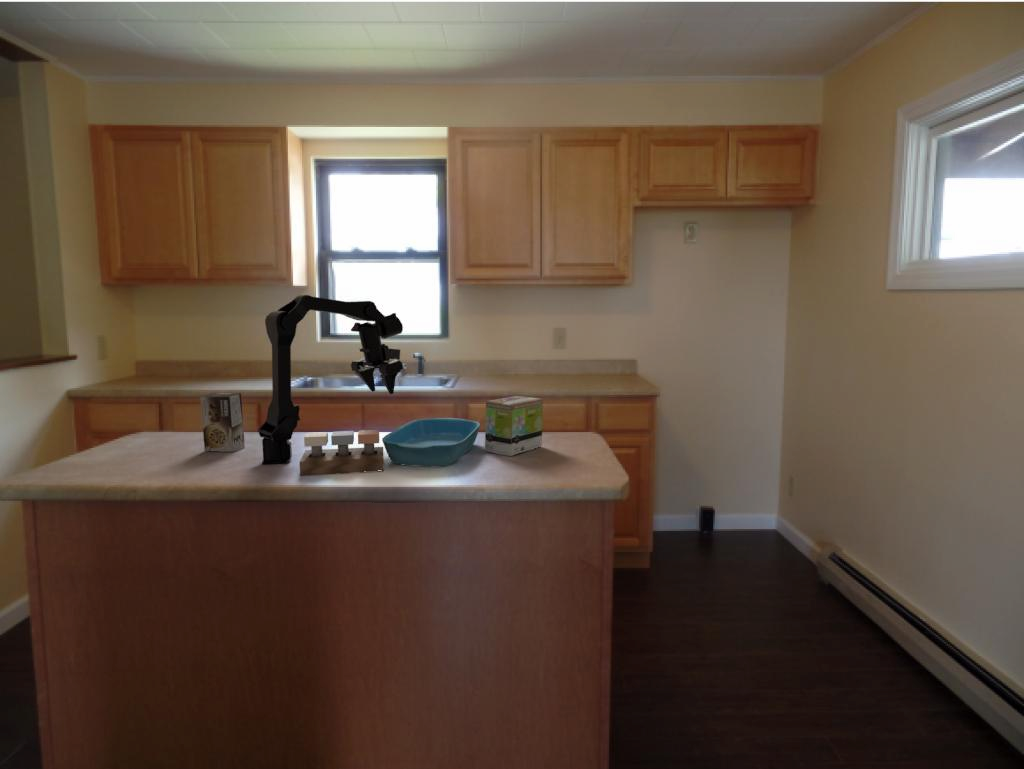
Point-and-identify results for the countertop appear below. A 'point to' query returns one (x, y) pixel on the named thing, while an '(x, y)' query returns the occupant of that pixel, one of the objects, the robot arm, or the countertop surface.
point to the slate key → (342, 441)
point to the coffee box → (222, 422)
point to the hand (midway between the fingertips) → (382, 392)
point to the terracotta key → (368, 440)
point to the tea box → (513, 425)
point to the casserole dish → (431, 441)
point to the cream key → (316, 442)
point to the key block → (341, 462)
